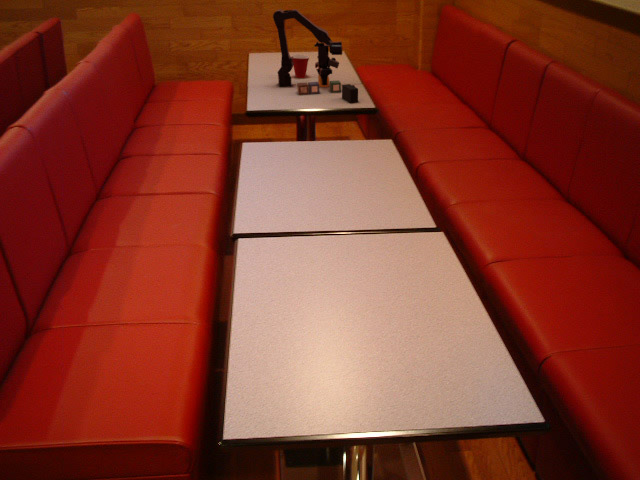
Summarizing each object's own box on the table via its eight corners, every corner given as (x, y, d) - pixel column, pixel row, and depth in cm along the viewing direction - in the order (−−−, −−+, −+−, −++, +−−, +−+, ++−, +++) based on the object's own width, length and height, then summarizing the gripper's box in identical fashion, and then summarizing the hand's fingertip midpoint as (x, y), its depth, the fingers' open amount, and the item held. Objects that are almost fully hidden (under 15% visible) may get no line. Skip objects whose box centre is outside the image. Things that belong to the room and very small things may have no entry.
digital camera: (360, 102, 320) (360, 88, 316) (350, 103, 318) (350, 89, 315) (351, 97, 328) (351, 83, 325) (342, 98, 326) (342, 84, 323)
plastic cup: (313, 77, 367) (313, 56, 361) (298, 80, 362) (297, 58, 356) (303, 73, 375) (303, 52, 369) (288, 76, 370) (287, 55, 364)
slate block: (310, 94, 334) (309, 84, 332) (308, 91, 339) (308, 82, 337) (319, 93, 335) (319, 84, 333) (317, 91, 340) (317, 81, 337)
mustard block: (320, 87, 347) (320, 77, 345) (318, 84, 351) (318, 75, 349) (329, 86, 348) (329, 77, 345) (327, 84, 352) (327, 75, 350)
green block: (331, 92, 336) (331, 83, 334) (329, 90, 341) (329, 80, 338) (340, 92, 337) (340, 82, 335) (338, 89, 341) (338, 80, 339)
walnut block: (299, 94, 333) (298, 85, 331) (297, 92, 338) (297, 83, 336) (308, 94, 334) (308, 84, 332) (306, 91, 339) (306, 82, 336)
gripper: (341, 57, 335) (341, 87, 342) (334, 50, 351) (334, 78, 358) (320, 58, 333) (321, 88, 341) (314, 51, 349) (315, 80, 357)
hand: (323, 83), depth 349 cm, fingers closed on mustard block, 5 cm apart
